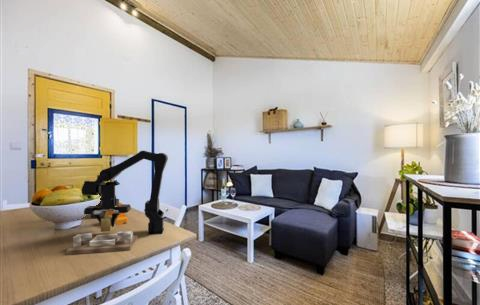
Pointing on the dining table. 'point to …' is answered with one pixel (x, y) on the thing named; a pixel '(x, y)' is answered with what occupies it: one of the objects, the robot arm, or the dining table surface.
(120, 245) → the coupling base
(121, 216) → the bracket
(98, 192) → the robot arm
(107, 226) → the tan rectangular block
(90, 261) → the dining table surface
